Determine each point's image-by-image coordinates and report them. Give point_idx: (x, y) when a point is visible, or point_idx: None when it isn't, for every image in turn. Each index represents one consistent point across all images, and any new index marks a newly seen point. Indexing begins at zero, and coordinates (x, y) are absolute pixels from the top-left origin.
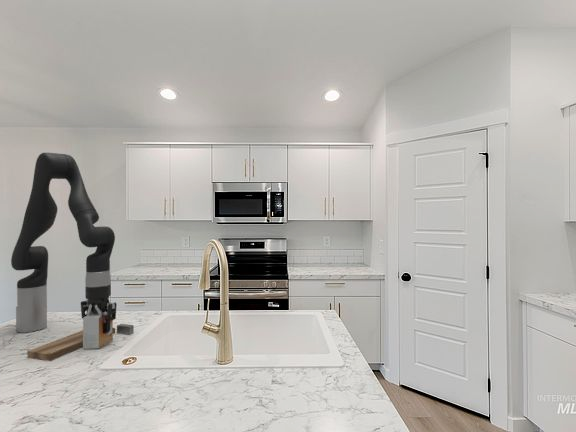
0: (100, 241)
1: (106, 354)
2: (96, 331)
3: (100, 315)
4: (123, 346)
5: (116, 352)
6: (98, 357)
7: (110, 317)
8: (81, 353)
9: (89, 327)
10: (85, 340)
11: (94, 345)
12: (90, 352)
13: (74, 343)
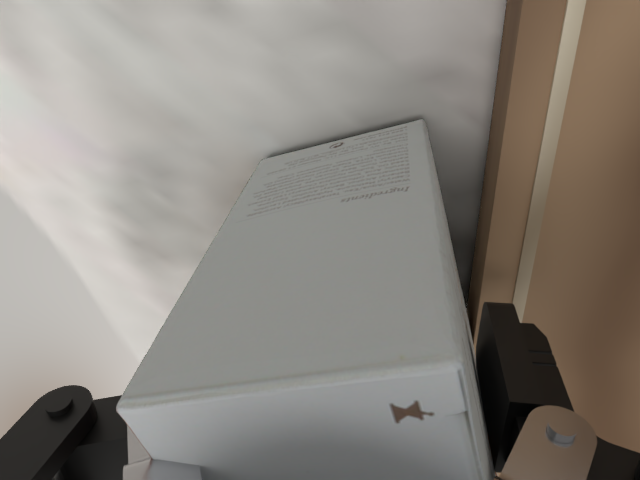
0: None
1: (93, 93)
2: (232, 240)
3: (161, 469)
4: (129, 258)
5: (59, 151)
6: (91, 15)
7: (5, 445)
8: (352, 37)
9: (321, 250)
10: (391, 154)
11: (291, 158)
12: (282, 85)
13: (544, 113)
